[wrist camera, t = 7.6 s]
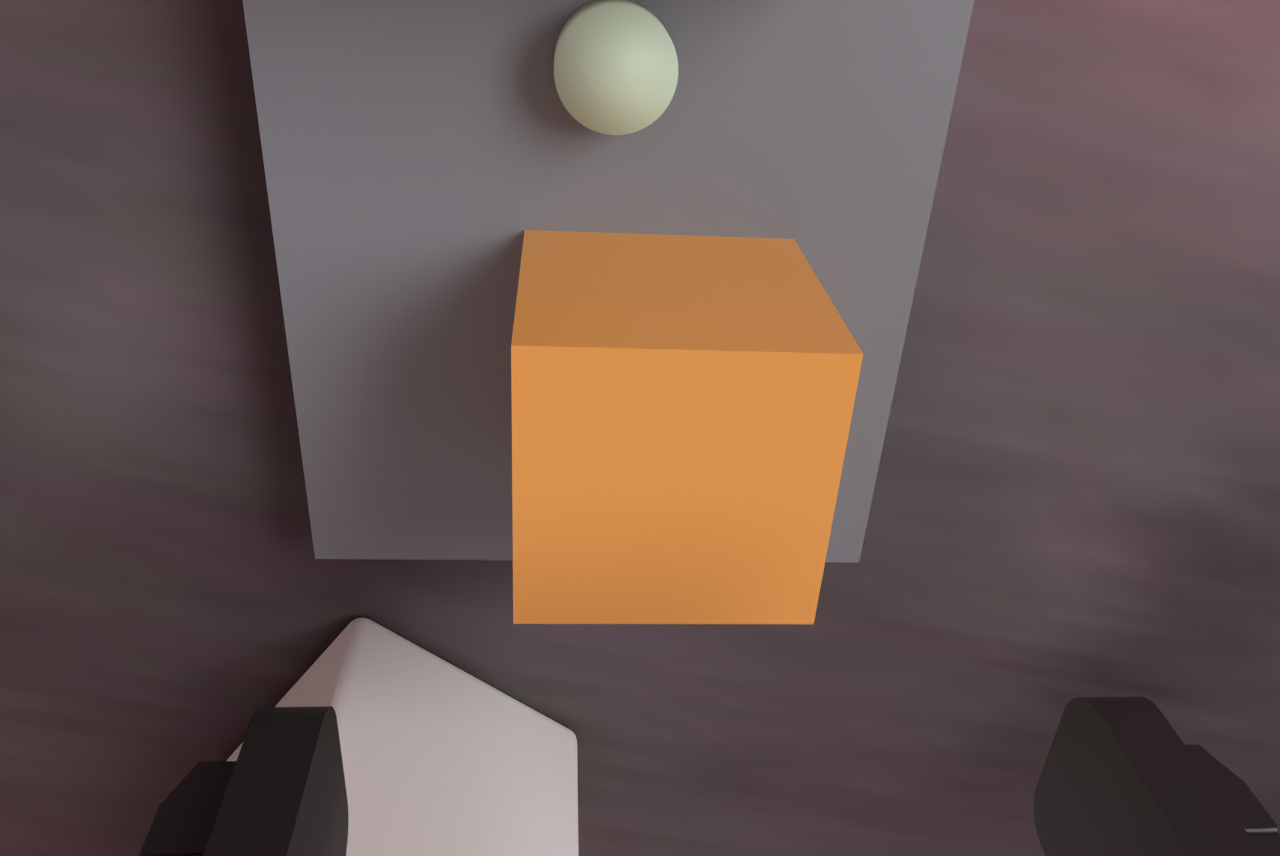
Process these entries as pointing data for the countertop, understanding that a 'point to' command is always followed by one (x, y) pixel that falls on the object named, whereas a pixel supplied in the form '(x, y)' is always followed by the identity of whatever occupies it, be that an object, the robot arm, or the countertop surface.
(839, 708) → the countertop surface
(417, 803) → the medicine bottle
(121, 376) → the countertop surface
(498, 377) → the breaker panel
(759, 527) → the orange cube
